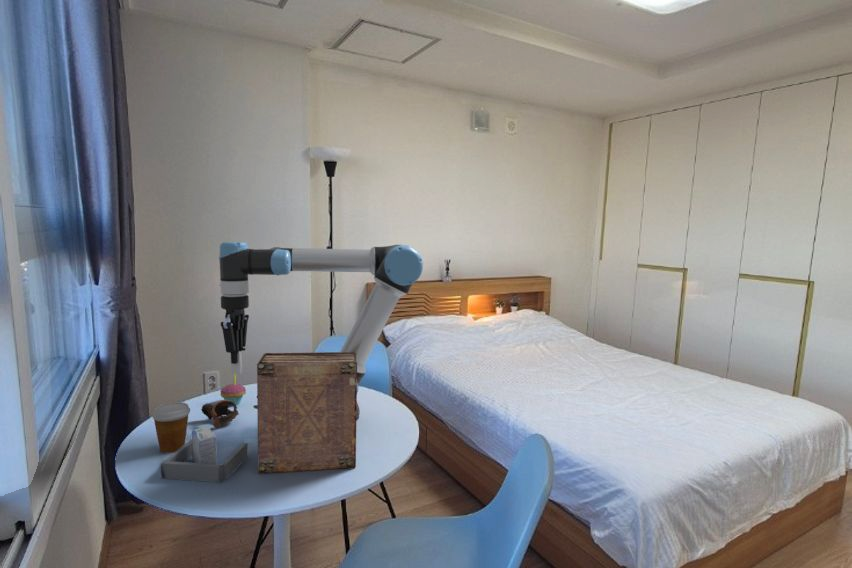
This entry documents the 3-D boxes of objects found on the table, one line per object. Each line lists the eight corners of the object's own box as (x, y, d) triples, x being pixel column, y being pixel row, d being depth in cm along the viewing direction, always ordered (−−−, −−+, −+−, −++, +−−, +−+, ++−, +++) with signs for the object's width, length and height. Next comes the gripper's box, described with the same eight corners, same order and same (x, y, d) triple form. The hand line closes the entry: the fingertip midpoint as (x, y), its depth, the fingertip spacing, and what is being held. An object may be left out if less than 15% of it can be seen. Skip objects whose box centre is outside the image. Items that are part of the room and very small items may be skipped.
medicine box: (217, 467, 117) (216, 436, 117) (198, 472, 115) (198, 440, 114) (209, 455, 123) (208, 425, 123) (191, 460, 121) (191, 429, 120)
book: (354, 451, 128) (357, 351, 125) (355, 468, 119) (358, 361, 116) (263, 456, 124) (263, 352, 120) (257, 474, 115) (257, 362, 111)
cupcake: (225, 399, 164) (225, 368, 163) (249, 399, 165) (248, 368, 164) (217, 408, 156) (216, 375, 154) (242, 408, 157) (241, 375, 155)
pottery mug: (241, 416, 151) (243, 400, 147) (230, 439, 143) (231, 423, 139) (206, 407, 150) (207, 391, 145) (192, 430, 142) (193, 413, 137)
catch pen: (247, 456, 124) (247, 442, 123) (223, 482, 110) (223, 467, 110) (191, 452, 124) (191, 439, 124) (161, 478, 111) (160, 463, 111)
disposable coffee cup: (150, 458, 120) (148, 416, 119) (155, 443, 129) (154, 403, 128) (189, 452, 124) (188, 412, 123) (192, 438, 133) (191, 400, 132)
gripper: (232, 291, 135) (234, 366, 138) (210, 297, 122) (212, 379, 125) (256, 292, 135) (258, 366, 138) (236, 298, 122) (238, 380, 125)
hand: (236, 372), depth 131 cm, fingers closed
